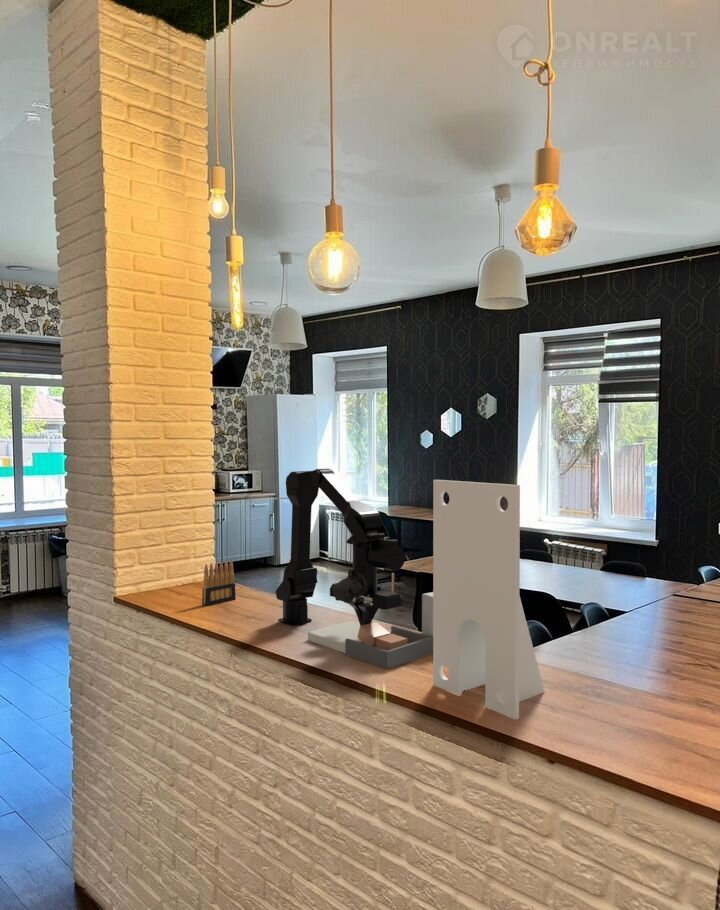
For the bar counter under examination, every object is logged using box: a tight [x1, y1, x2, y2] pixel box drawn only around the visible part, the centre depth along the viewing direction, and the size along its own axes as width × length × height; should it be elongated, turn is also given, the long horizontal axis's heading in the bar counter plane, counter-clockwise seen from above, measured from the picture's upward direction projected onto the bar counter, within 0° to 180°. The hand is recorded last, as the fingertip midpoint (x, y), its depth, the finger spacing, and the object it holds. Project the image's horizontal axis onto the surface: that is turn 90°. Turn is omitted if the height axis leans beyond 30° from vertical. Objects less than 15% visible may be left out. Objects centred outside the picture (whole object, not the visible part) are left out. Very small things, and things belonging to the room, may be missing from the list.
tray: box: [344, 625, 433, 670], centre depth 146 cm, size 13×16×4 cm
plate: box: [307, 620, 391, 654], centre depth 156 cm, size 14×14×2 cm
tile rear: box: [357, 621, 390, 647], centre depth 150 cm, size 5×5×3 cm
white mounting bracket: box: [432, 479, 546, 720], centre depth 123 cm, size 20×14×40 cm
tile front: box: [376, 634, 407, 651], centre depth 146 cm, size 5×5×3 cm
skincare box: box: [421, 591, 433, 636], centre depth 152 cm, size 6×4×12 cm
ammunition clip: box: [201, 559, 237, 607], centre depth 193 cm, size 11×2×12 cm, turn 138°
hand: (364, 631), depth 152 cm, fingers closed
